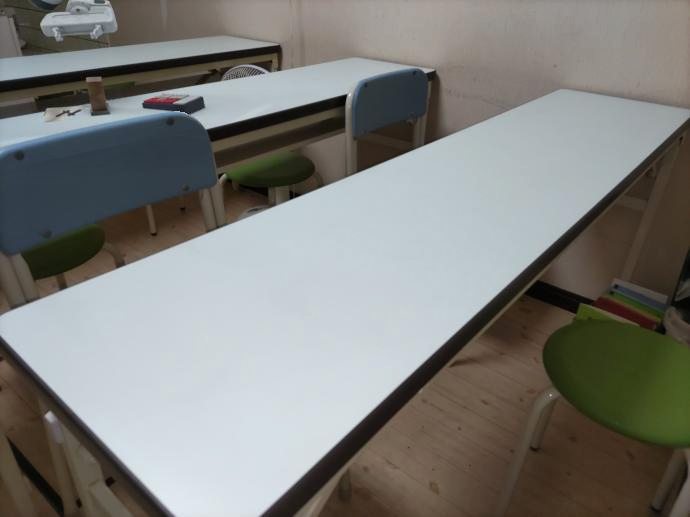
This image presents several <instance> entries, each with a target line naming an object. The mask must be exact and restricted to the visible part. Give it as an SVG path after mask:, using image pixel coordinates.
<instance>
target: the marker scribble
mask: <svg viewBox="0 0 690 517" xmlns="http://www.w3.org/2000/svg"><path fill="white" fill-rule="evenodd" d="M69 111H70V110H67V111H65V110H63V112H62V113H60V114H58V115H56V116H57V117H58V116H60V115H62V114H64V113H68V116H69V117H71V116H76V114H77V113H79V112H82V110H81V109H79V110H77V111H75V112H72V113H70V112H69ZM76 112H77V113H76ZM74 113H75V114H74ZM70 115H71V116H70Z"/></svg>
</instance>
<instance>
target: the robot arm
mask: <svg viewBox="0 0 690 517" xmlns="http://www.w3.org/2000/svg"><path fill="white" fill-rule="evenodd" d="M27 1H28V2H29V3H30V4H31V5H32V6H34V7H35V8H36V9H39V10H42V11H49V13H47V14H45V16H44V17H43V18H42V20H41V21H40V23H39V24H40V25H39V26H40V28H41V31H42V32H43V35H44V36H46V37H47V38H51V37H52V38H53V37H54V39H55V41H56V42H57V43H58V42H63V40H64V37H66V36H81V35H89V36H90V39H91V40H98V38H99V37H100V36H101V35H104V34H111V33H116V32H117V31H118V26H119V25H118V22H117V17H116V15H115V11H114V9H113V6H112V4H111V2H110V1H109V0H68V1H67V5H66V7H65V11H54V10H56V9H57V7H58V6H59V5H60V4H61V3H62V2H63V1H64V0H27Z"/></svg>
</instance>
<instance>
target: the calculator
mask: <svg viewBox="0 0 690 517" xmlns="http://www.w3.org/2000/svg"><path fill="white" fill-rule="evenodd" d="M141 106H142V109H147V110H156V111H157V110H158V111H166V112H173V111H180V112H185V113H187V114H190V115H193V114H194V113H197V112H199V111H201V110H203V109H205V108H206V104H205V100H204V96H202V95H195V94H194V95H192V94H191V95H190V94H184V93H183V94H179V93H178V94H176V93H162V94H159V95H156V96H154V97H150V98H147V99H145V100H143V102H142V103H141Z"/></svg>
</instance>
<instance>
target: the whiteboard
mask: <svg viewBox="0 0 690 517" xmlns="http://www.w3.org/2000/svg"><path fill="white" fill-rule="evenodd" d="M87 108H90V105H75V106H61V107H60V106H59V107H58V106H57V107H46V108H45V110H44V114H43V121H42V123H44V124H45V123H55V122H62V121H64V120H66V119H67V118H69V117H71V116H72V115H70V116H68V113H64V114H62V115H60V116H58V117H57V116H56V115H58V114H60V113H62V112H63V110H65V111H67V110H70V111H69V112H70V113H72V112H75V111H77V110H79V109H81V111H84V110H86V109H87ZM77 113H78V112H76V113H74V114H75V115H76V114H77Z"/></svg>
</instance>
